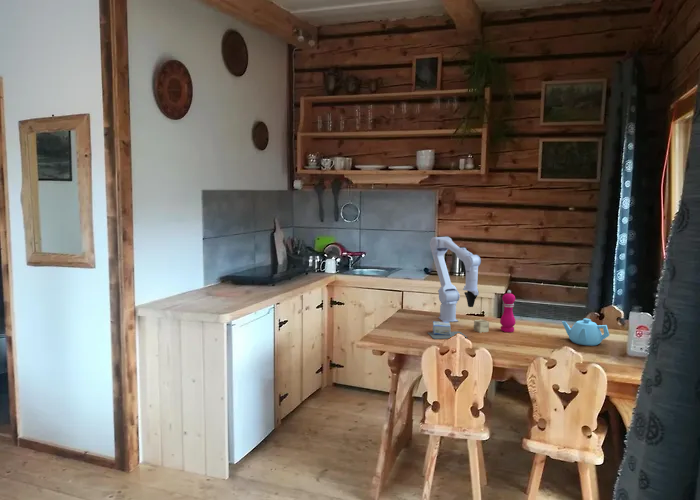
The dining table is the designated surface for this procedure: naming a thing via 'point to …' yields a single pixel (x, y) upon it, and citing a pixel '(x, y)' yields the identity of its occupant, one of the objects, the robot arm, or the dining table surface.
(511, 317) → the pepper mill
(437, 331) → the medicine box
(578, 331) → the teapot
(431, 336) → the mat
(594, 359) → the dining table surface
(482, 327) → the beech block
